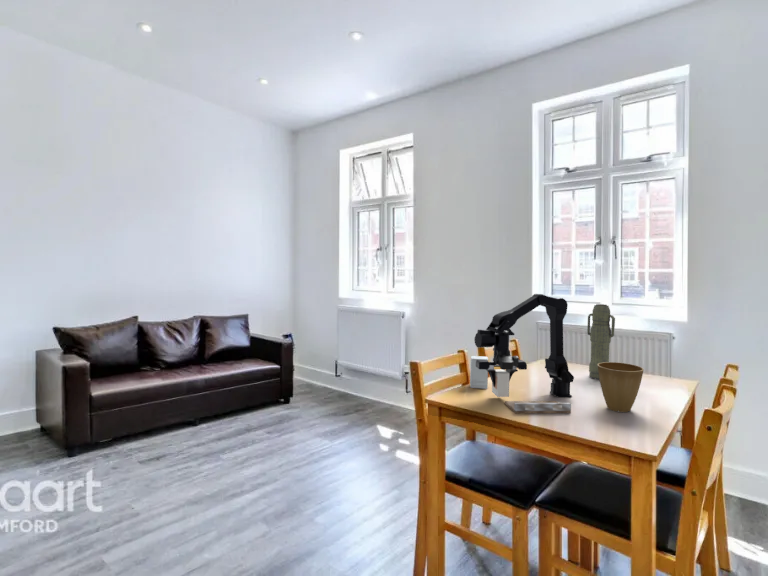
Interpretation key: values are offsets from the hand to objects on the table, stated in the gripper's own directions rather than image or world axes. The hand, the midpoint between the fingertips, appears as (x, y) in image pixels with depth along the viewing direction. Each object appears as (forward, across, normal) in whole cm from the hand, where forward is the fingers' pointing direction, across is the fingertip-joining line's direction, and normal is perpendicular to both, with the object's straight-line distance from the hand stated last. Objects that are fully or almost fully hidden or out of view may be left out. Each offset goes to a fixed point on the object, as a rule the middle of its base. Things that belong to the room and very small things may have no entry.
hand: (500, 386), depth 174 cm
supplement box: (+5, -3, +20) cm, 21 cm away
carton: (+3, 0, 0) cm, 3 cm away
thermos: (+5, +60, +36) cm, 70 cm away
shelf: (+5, +10, -11) cm, 16 cm away
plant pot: (+5, +40, -13) cm, 42 cm away
